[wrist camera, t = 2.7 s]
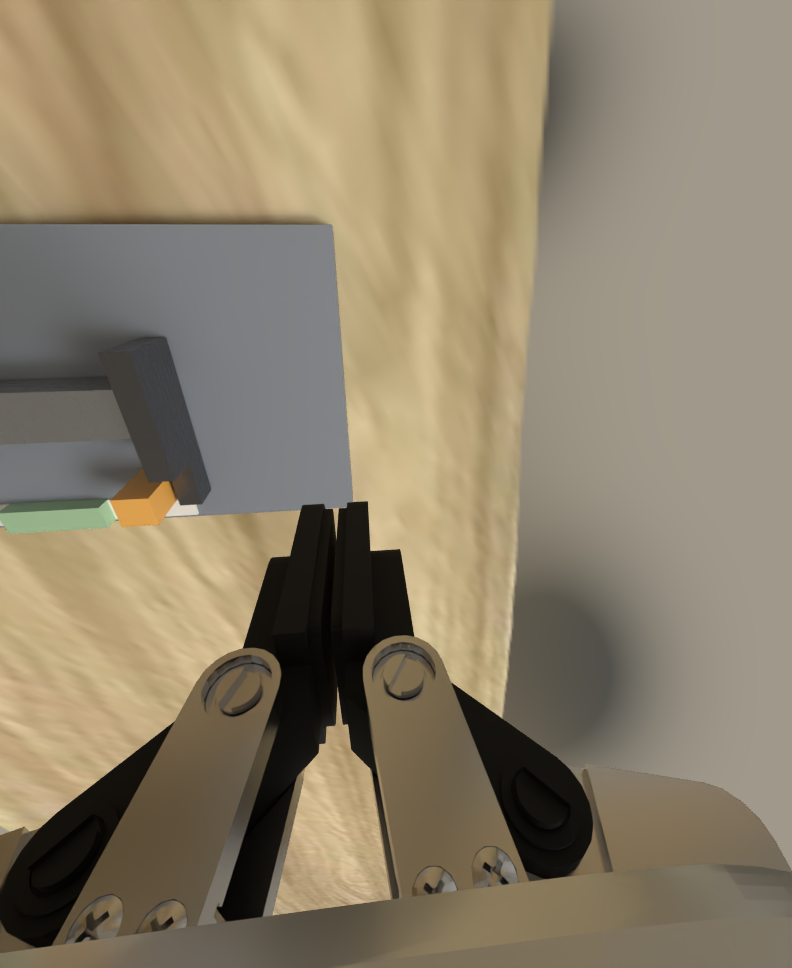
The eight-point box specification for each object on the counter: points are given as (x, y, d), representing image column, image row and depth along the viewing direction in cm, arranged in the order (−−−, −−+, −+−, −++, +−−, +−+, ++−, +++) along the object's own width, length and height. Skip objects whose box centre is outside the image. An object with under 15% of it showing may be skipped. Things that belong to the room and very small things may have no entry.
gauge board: (-275, 225, 16) (-540, 210, 11) (332, 226, 18) (325, 214, 13) (-54, 519, 23) (-155, 583, 19) (352, 496, 25) (352, 549, 21)
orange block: (143, 467, 21) (109, 500, 18) (176, 465, 22) (148, 498, 18) (153, 491, 22) (121, 526, 19) (184, 489, 22) (158, 524, 19)
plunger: (-188, 344, 17) (-304, 362, 14) (166, 337, 18) (129, 352, 15) (-67, 504, 21) (-136, 543, 18) (211, 489, 22) (189, 524, 19)
